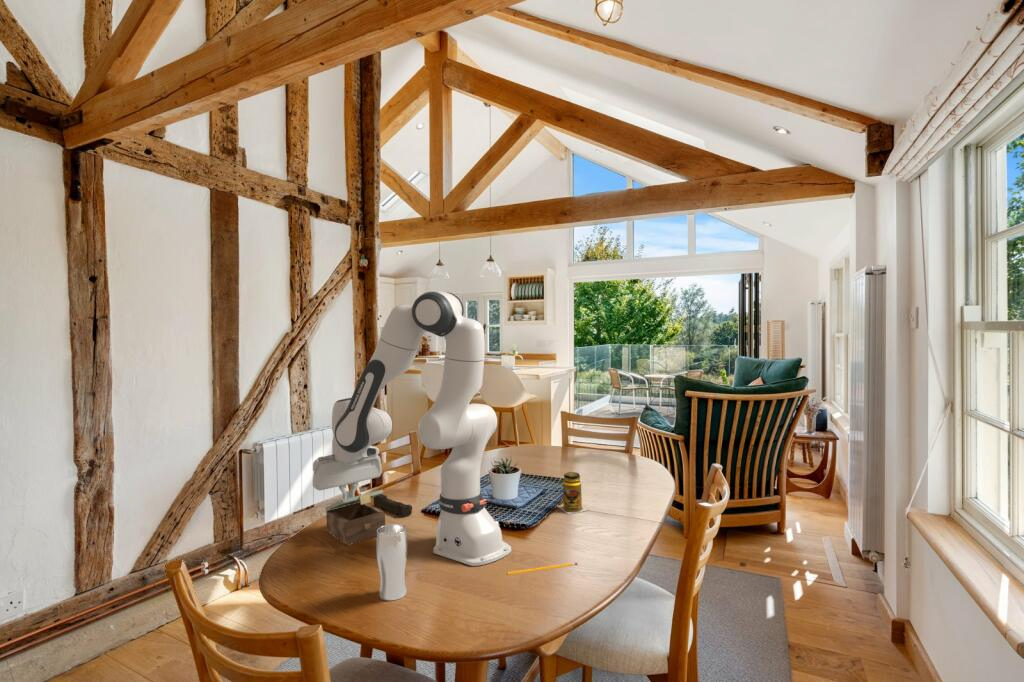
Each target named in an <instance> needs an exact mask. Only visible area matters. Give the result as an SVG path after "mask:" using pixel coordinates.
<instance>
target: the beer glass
mask: <svg viewBox="0 0 1024 682" xmlns="http://www.w3.org/2000/svg"><path fill="white" fill-rule="evenodd" d="M407 534H408V533H407V527H406V525H404V524H401V523H389V524H385V525H384V526H381V527H380V528H378V529H377V537H375V539H376V543H375V545H376V546H375V547H376V548H375V550H376V551H375V552H376V560H377V565H378V566H377V567H378V571H379V575H380V587H379V595H378V596H379V597H380V599H381V600H383V601H387V602H388V601H389V602H392V601H397V600H400V599H402V598H403V597H404V596H406V595H407V586H406V581H405V574H406V573H405V572H406V565H407V560H408V559H407V558H408V535H407Z"/></svg>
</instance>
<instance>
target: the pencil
mask: <svg viewBox="0 0 1024 682" xmlns="http://www.w3.org/2000/svg"><path fill="white" fill-rule="evenodd" d="M573 566H578V562H570V563H563V564H555V565H550V566H544V567H536V568H528V569H522V570H521V569H520V570H513V571H507V572H506V573H507V575H509V576H510V575H516V574H522V573H523V574H525V573H531V572H537V571H544V570H552V569H557V568H558V569H559V568H566V567H573Z"/></svg>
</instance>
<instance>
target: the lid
mask: <svg viewBox="0 0 1024 682" xmlns="http://www.w3.org/2000/svg"><path fill="white" fill-rule="evenodd" d="M380 494H384V490H383V489H381V490H376V491H372V492H368V493H365V494H360V495H355V497H351V498H347V499H343V498H342V500H339V501H337V502H335V503H332V504H330V505H328V506H326V507H325V508H324V509H325V512H326V511H328V510H332V509H336V508H340V507H344V506H347V505H351V504H355V503H359V502H360V504H361V505H362V504H366V503H368V504H370V503H372V501H371V500H372V498H374V497H375V496H377V495H380Z"/></svg>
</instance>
